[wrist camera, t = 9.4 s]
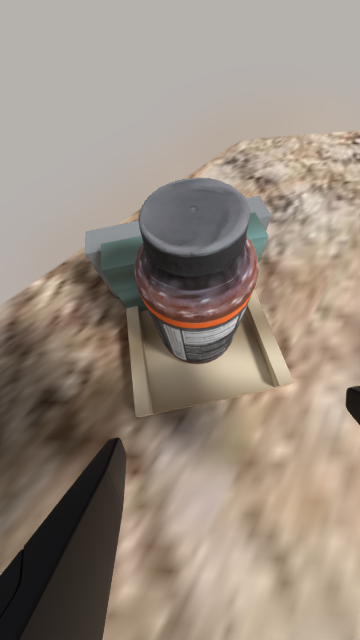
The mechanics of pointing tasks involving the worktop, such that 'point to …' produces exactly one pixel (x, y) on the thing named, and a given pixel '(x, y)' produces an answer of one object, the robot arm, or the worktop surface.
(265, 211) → the backstop wall
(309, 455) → the worktop surface
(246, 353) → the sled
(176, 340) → the supplement bottle
